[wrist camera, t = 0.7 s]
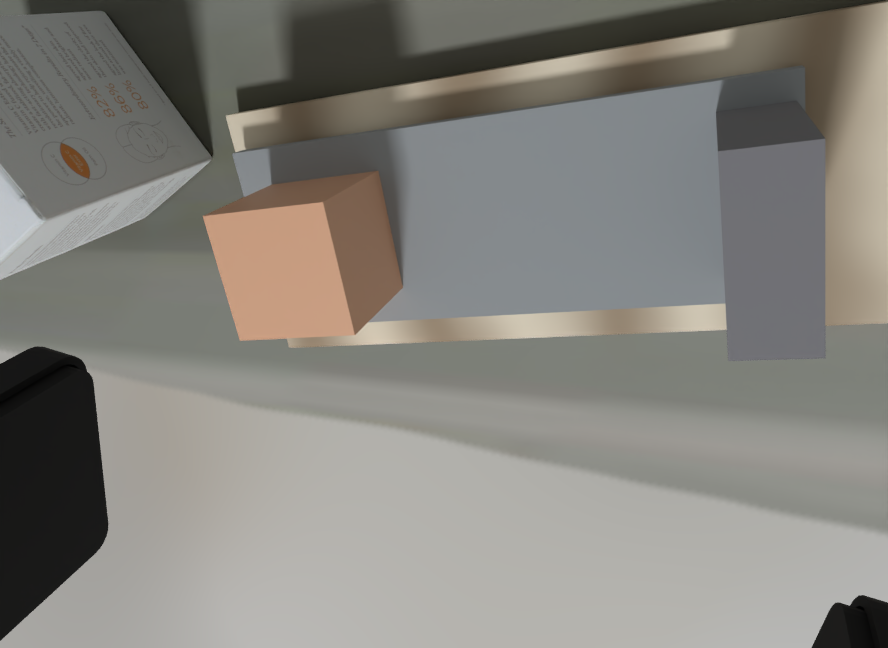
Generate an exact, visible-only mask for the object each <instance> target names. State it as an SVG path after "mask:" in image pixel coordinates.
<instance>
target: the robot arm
mask: <svg viewBox="0 0 888 648" xmlns="http://www.w3.org/2000/svg"><path fill="white" fill-rule="evenodd" d="M107 531H108V517H107V507H106V498H105V488H104V480H103V470H102V460H101V450H100V441H99V432H98V422H97V412H96V403H95V394H94V384H93V379H92V377H91V375H90V374H89V373H88V372H87V370H86V366H85V364H84V363H83V361H82V360H81V359H79V358H77V357H75V356H72V355H68V354H65V353H62V352H58V351H55V350H52V349H48V348H45V347H33V348H30V349H28V350H26V351H24V352H22V353H20V354H18V355H16V356H15V357H13V358H11V359H9V360H7V361H5V362H3V363H1V364H0V640H2V639H3V638H4V637H5V636H6V635H7V634H8V633H9V632H10V631H11V630H12V629H14V627H16V626H17V625H18V624H19V623H20V622H21V621H22V620H23V619H24V618H25V617H27V616H28V615H29V614H30V613H31V612H32V611H33V610H34V609H35V608H36V607H37V606H39V604H41V603H42V602H43V601H44V600H45V599H46V598H47V597H48V596H49V595H51V594H52V593H53V592H54V591H55V590H56V589H57V588H58V587H59V586H60V585H61V584H63V582H65V581H66V580H67V579H68V578H69V577H70V576H71V575H72V574H73V573H74V572H76V571H77V570H78V569H79V568H80V567H81V566H82V565H83V564H84V563H85V562H86V561H88V559H90V558H91V557H92V556H93V555H94V554H95V553H96V552H97V551H98V550H99V549H100V547H101V546H102V544H103V542H104V540H105V538H106V536H107ZM812 648H888V603H887V602H884V601H880V600H877V599H874V598H870V597H867V596H864V595H862V596H858V597H857V598H855V599H854V600H853V602H852V604H851V605H850V606H848V605H845V604H842V603H835V604H834V605H833V606H832V608H831V609H830V611H829V613H828V615H827V617H826V619H825V621H824V623H823V625H822V627H821V629H820V631H819V633H818V636H817V638H816V640H815V642H814V644H813V646H812Z"/></svg>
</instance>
